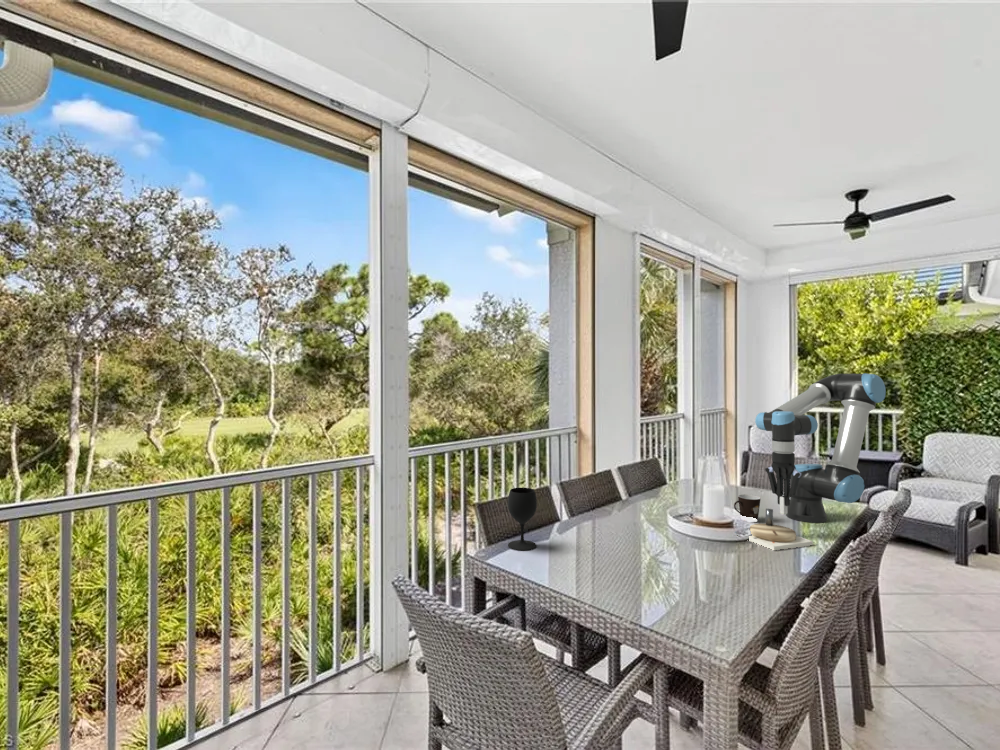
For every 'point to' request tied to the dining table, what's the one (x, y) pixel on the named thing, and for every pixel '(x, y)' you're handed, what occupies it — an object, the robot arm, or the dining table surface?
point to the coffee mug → (748, 505)
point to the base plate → (781, 543)
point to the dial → (772, 530)
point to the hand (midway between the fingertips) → (783, 513)
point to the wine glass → (522, 514)
